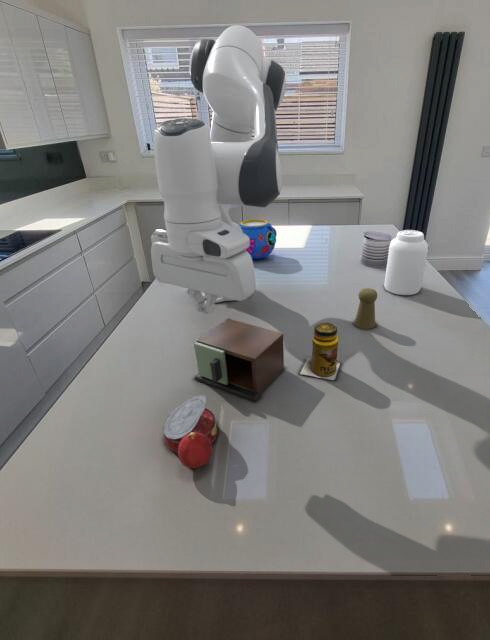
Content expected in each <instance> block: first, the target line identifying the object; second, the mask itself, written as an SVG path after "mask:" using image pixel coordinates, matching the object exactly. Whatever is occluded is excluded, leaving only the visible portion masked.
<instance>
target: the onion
mask: <svg viewBox="0 0 490 640" xmlns="http://www.w3.org/2000/svg"><path fill="white" fill-rule="evenodd" d="M212 454H213V445H212V443H211V442H210V440H209V438H208V437H207V436H206V435H204V434H203V433H199V432H191V433H189V434H187V435H186V436H185V437H184V438H183V439H182V440H181V442H180V443H179V448H178V453H177V456H178V459H179V461H180V462H181V464H182V465H184V466H185V467H186V468H190V469H194V468H195V469H197V468H199V467H203V466H204V465H205V464H207V463H208V462H209V460H210V459H211V457H212Z"/></svg>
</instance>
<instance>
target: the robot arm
mask: <svg viewBox="0 0 490 640" xmlns="http://www.w3.org/2000/svg"><path fill="white" fill-rule="evenodd" d="M188 68H189V75H190V82H191V84H192V86H193V88H194V89H195V90H196V91H198V92H199V93H201V94H202V95H204V98H205V101H206V102H207V104H208V106H209V107H210V109H211V110H212V111H213V112H212V119H211V126H210V131H209V127H208V124H207V123H206V122H205V121H203V120H200V119H197V118H191V117H190V118H189V117H188V118H187V117H185V118H184V117H183V118H175V119H168V120H165V121H163V122H160V123H159V124H158V125H156V127H155V128H154V129H153V156H154V158H153V159H154V167H155V175H156V181H157V187H158V191H159V193H160V195H161V197H162V200H163V205H164V209H163V210H164V211H163V220H164V225H165V230H164V229H160V228H159V229H158V228H157V229H155V230H154V231H153V232H152V233H151V235H150V242H151V248H150V256H151V266H152V273H153V276H154V277H155V279H156V280H157V281H158V282H161V283H165V284H168V285H172V286H177V287H181V288H185V289H188V294H189V295H190V297H191V299H192V300H193V302H194V303H195V307H196V311H197V312H200V313H203V314H207V315H212V314H214V313H215V312H216V304H217V303H221V302H228V301H229V302H230V301H231V302H232V301H238V302H244V301H245V300H247V299H248V298H250V297H251V296H252V295H253V294H254V293H255V291H256V275H255V267H254V266H255V265H254V261H253V259H252V258H251V256H250V254H249V253H248V252H247V251H246V250H245V249H247V248H248V247H249V246H250V240H249V237H248V236H247V235H246V234H244V233H243V232H242V229H241V227H240V226H239V224H238V223H236V222H234V221H232V219H231V217H230V213H229V211H230V210H233V209H237V208H241V207H243V206H247V207H248V206H249V207H254V208H255V207H256V208H266V207H268V206H269V205H271V204H272V203H273V202H274V201H276V200H277V198H278V197H279V196H280V195H281V190H282V188H283V187H282V186H283V165H282V162H281V159H280V155H279V144H278V130H277V128H278V127H277V119H276V111H277V110H278V108H279V107H280V105H281V103H282V102H283V101H284V98H285V94H286V88H287V83H286V72H285V70H284V67H283V66H282V65H281V64H279V63H278V62H277V61H275V60H273V59H271V60H269V59H267V58H266V57H264V54H263V48H262V44H261V42H260V39H259V38H258V36H257V35H256V34H255V33H254V32H253V31H252V30H251V29H249V28H248V27H247V26H243V25H240V24H236V25H231V26H229V27H227V28H226V29H224V30H223V31H222V33H220V35H219V37H217V39H216V40H215V39H211V38H202V39H200V40H198V41H197V42H196V43H195V44H194V47H193V49H192V51H191V53H190V57H189V63H188ZM252 136H254V137H253V139H252ZM215 303H216V304H215Z"/></svg>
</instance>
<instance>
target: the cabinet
mask: <svg viewBox="0 0 490 640" xmlns="http://www.w3.org/2000/svg"><path fill="white" fill-rule="evenodd" d="M195 342H198V343H201V344H204V345H207V346H210V347H213V348H217V349H220V350H223V351H225V360H226V368H227V376H228V384H227V385H225V384H222V383H219V382H215V381H213V380H211V379H208V378H206V377H203V376H200V375H199V372H198V373H197V374H195V375H194V379H195V380H197V381H200V382H201V383H205V384H208V385H210V386H213V387H216V388H218V389H221V390H223V391H225V392H229V393H232V394H234V395H236V396H240V397H242V398H244V399H247V400H250V401H253V402H256V401H257V400H258V399H259V398H260V394H261V393H263V392H264V390H265V389H266V388H267V387H268V386H269V385H270V384H271V383H272V382H273V380H274V379H276V377H277V376H278V375H279V374H281V372H282V371H283V370H284V369H285V354H284V353H285V351H284V350H285V349H284V348H285V347H284V333H282V332H280V331H275V330H272V329H268V328H264V327H262V326H257V325H254V324H250V323H246V322H242V321H238V320H235V319H232V318H227V319H225V320H223V321H222V322H220V323H219V324H218V325H216V326H215V327H213V328H211V329H210V330H209V331H208V332H206V333H205V334H203V335H201V336H200V337H199V338H197V339H196V340H195Z"/></svg>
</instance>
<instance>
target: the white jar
mask: <svg viewBox="0 0 490 640" xmlns="http://www.w3.org/2000/svg"><path fill="white" fill-rule="evenodd" d="M428 251H429V243H428V242H427V240H425V235H424V233H423V232H422V231H419V230H415V229H404V230H400V231H398V232H397V233H396V237H394V238H392V239H391V243H390V246H389V253H388V261H387V266H386V268H385V269H386V270H385V275H384V284H383V285H384V289H385V290H386V291H387V292H389V293H392V294H394V295H399V296H412V295H416V294H418V293H419V292H420V291H421V289H422V285H423V278H424V273H425V267H426V263H427V257H428Z"/></svg>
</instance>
